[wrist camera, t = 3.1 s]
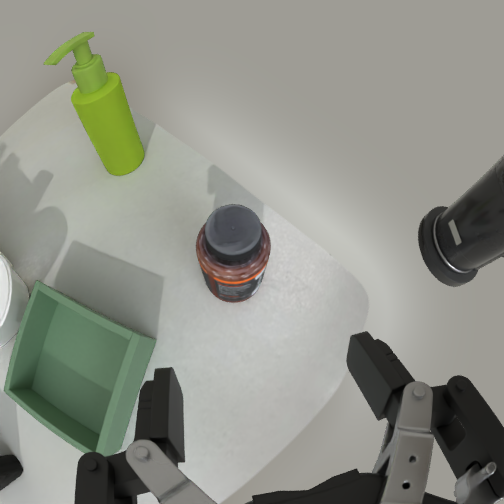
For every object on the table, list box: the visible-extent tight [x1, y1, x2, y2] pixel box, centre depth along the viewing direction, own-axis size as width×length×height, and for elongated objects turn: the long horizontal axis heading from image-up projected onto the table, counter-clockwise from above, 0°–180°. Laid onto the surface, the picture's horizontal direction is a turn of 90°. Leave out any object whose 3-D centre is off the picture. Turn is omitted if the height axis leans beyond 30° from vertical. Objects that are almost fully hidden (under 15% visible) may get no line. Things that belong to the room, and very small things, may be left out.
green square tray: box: [4, 280, 156, 457], centre depth 23 cm, size 14×14×5 cm
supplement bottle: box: [196, 204, 271, 302], centre depth 25 cm, size 6×6×11 cm
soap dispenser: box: [44, 32, 144, 176], centre depth 26 cm, size 6×7×20 cm
